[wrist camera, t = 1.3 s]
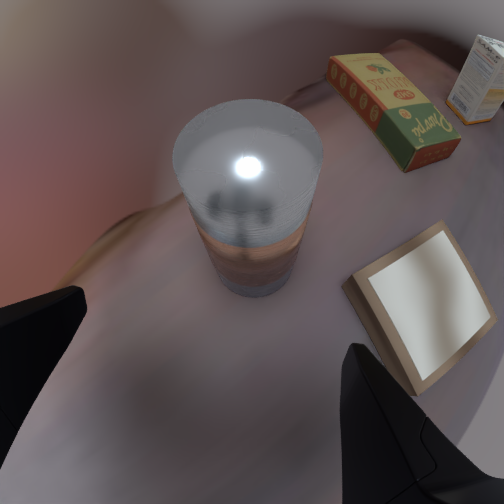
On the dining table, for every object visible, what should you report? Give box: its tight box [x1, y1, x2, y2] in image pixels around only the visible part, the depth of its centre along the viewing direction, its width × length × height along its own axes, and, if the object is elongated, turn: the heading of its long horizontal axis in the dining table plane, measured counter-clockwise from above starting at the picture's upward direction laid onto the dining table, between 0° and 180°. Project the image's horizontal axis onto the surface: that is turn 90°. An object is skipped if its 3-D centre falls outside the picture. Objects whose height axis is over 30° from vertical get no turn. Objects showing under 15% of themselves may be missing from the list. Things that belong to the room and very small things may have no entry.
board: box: [342, 220, 498, 396], centre depth 20 cm, size 10×10×3 cm
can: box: [172, 99, 323, 298], centre depth 17 cm, size 6×6×13 cm
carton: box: [326, 53, 461, 173], centre depth 28 cm, size 8×16×4 cm, turn 22°
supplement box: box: [446, 35, 504, 125], centre depth 25 cm, size 8×5×13 cm, turn 111°
